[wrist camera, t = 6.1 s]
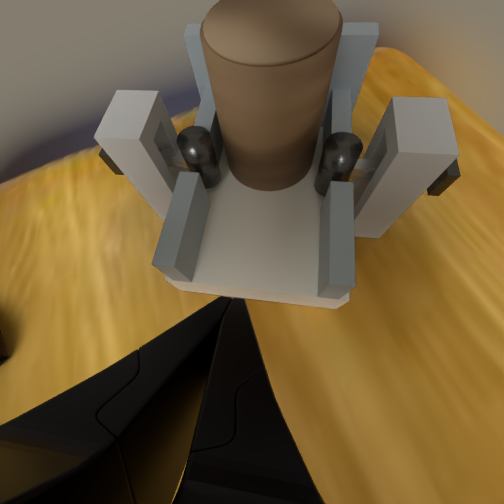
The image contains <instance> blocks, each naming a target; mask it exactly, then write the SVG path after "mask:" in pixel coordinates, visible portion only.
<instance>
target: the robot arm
mask: <svg viewBox="0 0 504 504" xmlns="http://www.w3.org/2000/svg"><path fill="white" fill-rule="evenodd" d="M187 459H188V460H187ZM186 461H187V463H186ZM185 464H186V467H185ZM184 467H185V471H184V474H183V477H182V480H181V483H180V486H179V489H178V491H177V494H176V496H175V498H174V500H173V502H172V499H173V497H174V494H175V491H176V489H177V486H178V483H179V480H180V478H181V475H182V472H183V470H184ZM171 502H172V504H325V503H324V501H323V499H322V497H321V495H320V494H319V492H318V490H317V488H316V486H315V484H314V482H313V480H312V478H311V476H310V473H309V471H308V469H307V467H306V465H305V463H304V460H303V458H302V456H301V454H300V452H299V450H298V447H297V445H296V443H295V441H294V439H293V437H292V435H291V432H290V430H289V428H288V426H287V424H286V422H285V419H284V417H283V415H282V412H281V410H280V408H279V405H278V403H277V401H276V398H275V395H274V392H273V389H272V387H271V384H270V381H269V377H268V374H267V371H266V369H265V365H264V361H263V358H262V355H261V351H260V348H259V345H258V341H257V338H256V335H255V331H254V328H253V325H252V321H251V318H250V315H249V311H248V308H247V305H246V301H245V299H242V298H233V299H232V298H231V297H225V296H220V297H218V298H217V299H215V300H214V301H212V302H210V303H209V304H207V305H206V306H204V307H203V308H201V309H200V310H198V311H196V312H195V313H193V314H192V315H190V316H189V317H187V318H185V319H184V320H182V321H181V322H179V323H178V324H176V325H174V326H173V327H171V328H170V329H168V330H167V331H165V332H163V333H162V334H160V335H159V336H157V337H156V338H154V339H152V340H151V341H149V342H148V343H146V344H145V345H143V346H142V347H140V348H139V350H138V349H137V350H135V351H133V352H132V353H130V354H129V355H127V356H126V357H124V358H122V359H121V360H119V361H117V362H116V363H114V364H113V365H111V366H109V367H108V368H106V369H104V370H103V371H101V372H99V373H97V374H95V375H94V376H92V377H90V378H88V379H86V380H85V381H83V382H81V383H79V384H77V385H76V386H74V387H72V388H70V389H68V390H66V391H65V392H63V393H61V394H59V395H57V396H55V397H53V398H52V399H50V400H48V401H46V402H44V403H42V404H40V405H39V406H37V407H35V408H33V409H31V410H29V411H28V412H26V413H24V414H22V415H20V416H18V417H16V418H14V419H12V420H10V421H8V422H6V423H5V424H2V425H0V504H171Z"/></svg>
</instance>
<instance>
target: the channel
mask: <svg viewBox="0 0 504 504" xmlns="http://www.w3.org/2000/svg"><path fill="white" fill-rule="evenodd" d="M200 28H201V24H188V26H187V28H186V31H185V33H184V39H185V43H186V46H187V50H188V53H189V57H190V61H191V64H192V68H193V72H194V75H195V79H196V82H197V86H198V90H199V94H200V97H201V103H200V106H199V109H198V112H197V116H196V119H195V122H194V126H202V127H204V128H206V129H207V130H208V131H209V132H210V135H211V139H212V143H213V146H214V150H215V153H216V157H217V161H218V164H219V168H220V172H221V180H220V182H219V183H218V184H217V185H216V186H214V187H212V188H209V189H205V186H204V184H203V181H202V179H201V176H200V174H199V173H195V172H189V170H188V168H177V167H168V166H167V164H166V162H165V161H164V159H163V157H162V155H161V153H160V152H159V150H158V148H168V149H179V147H178V145H177V142H176V140H177V136H178V135H177V133H176V131H175V128H174V126H173V124H172V121H171V119H170V117H169V114H168V112H167V110H166V108H165V105H164V103H163V100H162V98H161V96H160V93H159V91H138V90H137V91H136V90H117V91H116V93H115V95H114V97H113V99H112V101H111V103H110V105H109V107H108V109H107V111H106V113H105V115H104V117H103V119H102V121H101V124H100V125H99V127H98V129H97V131H96V133H95V136H94V138H95V139H96V141H97V142H98V143H99V144H100V146H101V147H102V148H103V149H104V150H105V152H106V153H107V154H108V155H109V156H110V158H111V159H112V160H113V161H114V163H115V164H116V165H117V166H118V167H119V169H120V170H121V171H122V172H123V173H124V175H125V176H126V177H127V178H128V180H129V181H130V182H131V183H132V184H133V186H134V187H135V188H136V189H137V190H138V192H139V193H140V194H141V195H142V197H143V198H144V199H145V200H146V201H147V203H148V204H149V205H150V206H151V207H152V209H153V210H154V211H155V212H156V214H157V215H158V216H159V217H160V218H161V220H165V222H164V225H163V228H162V232H161V235H160V238H159V241H158V245H157V248H156V251H155V255H154V258H153V261H152V265H153V266H154V267H156V268H157V269H159V270H160V271H161V272H163V273H164V274H165V278H164V279H165V280H166V281H167V282H169V283H170V284H172V285H173V286H175V287H176V288H178V289H179V290H182V291H190V292H198V293H206V294H215V295H223V296H231V297H240V298H248V299H256V300H264V301H273V302H281V303H289V304H297V305H306V306H314V307H322V308H330V309H337V308H339V307H341V306H342V305H344V304H345V303H347V302H348V301H349V291H351V290H352V289H353V288H355V287H356V280H355V238H354V236H355V237H367V238H378V239H379V238H380V237H381V236H382V235H383V234H384V233H385V232H386V231H387V230H388V229H389V227H390V226H391V225H392V224H393V223H394V222H395V221H396V220H397V219H398V218H399V217H400V216H401V215H402V214H403V213H404V212H405V211H406V210H407V209H408V208H409V207H410V206H411V205H412V204H413V203H414V202H415V201H416V200H417V198H418V197H419V196H420V195H421V194H422V193H423V192H424V191H425V190H426V189H427V188H428V187H429V186H430V185H431V184H432V183H433V182H434V181H435V180H436V179H437V178H438V177H439V176H440V175H441V174H442V173H443V172H444V170H445V169H446V168H447V167H448V166H449V165H450V164H451V163H452V162H453V161H454V160H455V159H456V158H457V157H458V156H459V151H458V146H457V142H456V138H455V133H454V129H453V125H452V120H451V116H450V112H449V107H448V103H447V99H446V98H428V97H392V99H391V101H390V103H389V105H388V107H387V109H386V111H385V113H384V115H383V117H382V119H381V122H380V124H379V126H378V128H377V130H376V132H375V134H374V136H373V138H372V140H371V142H370V144H369V146H368V149H367V151H366V153H365V155H364V157H363V159H378V160H382V161H381V163H380V165H379V167H378V168H377V170H376V172H375V173H374V175H373V177H372V179H357V178H353V180H352V182H338V181H331V182H330V185H329V188H328V190H327V193H326V196H325V197H324V196H322V195H320V194H319V193H318V192H317V191H316V190H315V187H314V182H315V178H316V174H317V171H318V167H319V163H320V159H321V155H322V152H323V148H324V144H325V141H326V139H327V138H328V137H329V136H330V135H331V134H333V133H336V132H349V133H352V112H353V109H354V106H355V103H356V101H357V98H358V95H359V92H360V89H361V86H362V83H363V80H364V77H365V74H366V72H367V69H368V66H369V63H370V60H371V57H372V54H373V51H374V48H375V45H376V43H377V39H378V37H379V29H378V22H359V23H358V22H354V23H343V28H342V33H341V38H340V42H339V47H338V51H337V56H336V60H335V64H334V69H333V73H332V78H331V82H330V87H329V91H328V96H327V100H326V104H325V109H324V113H323V118H322V122H321V127H320V131H319V136H318V140H317V144H316V149H315V153H314V158H313V162H312V166H311V168H310V170H309V172H308V173H307V175H306V176H305V177H304V178H303V179H302V180H301V181H299V182H298V183H297V184H295V185H293V186H291V187H289V188H286V189H283V190H278V191H260V190H255V189H252V188H249V187H247V186H245V185H243V184H242V183H240V182H239V181H238V180H237V179H236V178H235V177H234V176H233V174H232V173H231V171H230V168H229V165H228V161H227V156H226V152H225V147H224V143H223V138H222V134H221V129H220V125H219V120H218V116H217V111H216V107H215V103H214V98H213V94H212V89H211V85H210V80H209V76H208V71H207V67H206V62H205V58H204V53H203V49H202V44H201V40H200Z"/></svg>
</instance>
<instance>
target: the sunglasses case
mask: <svg viewBox="0 0 504 504" xmlns="http://www.w3.org/2000/svg"><path fill="white" fill-rule="evenodd" d="M9 357H10V356H9ZM9 357H8V356H7V351H6V346H5V343H4V341H3V337H2V334H1V331H0V365H1V364H2V363H3V362H4V361H5V360H7V359H8V358H9Z"/></svg>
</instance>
